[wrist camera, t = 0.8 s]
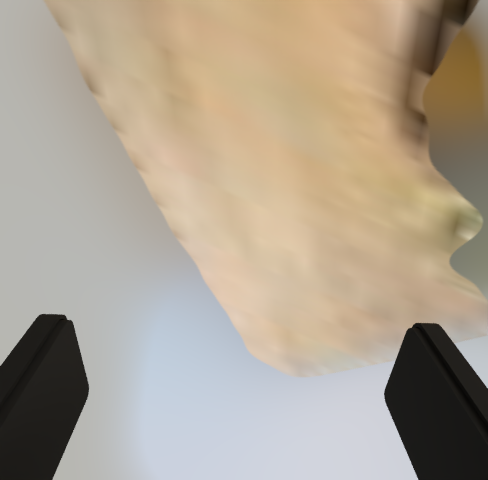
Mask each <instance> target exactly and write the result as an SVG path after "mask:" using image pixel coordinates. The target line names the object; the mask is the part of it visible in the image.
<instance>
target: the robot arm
mask: <svg viewBox="0 0 488 480" xmlns="http://www.w3.org/2000/svg"><path fill="white" fill-rule="evenodd" d="M88 392H89V384H88V381H87V377H86V373H85V369H84V365H83V361H82V357H81V353H80V349H79V345H78V341H77V337H76V333H75V329H74V325H73V322H72V321H71V320H67V318H66V316H65V315H57V314H41V315H39V316H38V317H37V318H36V320H35V321H34V322H33V324H32V325H31V326H30V328H29V329H28V330H27V331H26V333H25V334H24V336H23V337H22V338H21V340H20V341H19V342H18V344H17V345H16V346H15V347H14V349H13V350H12V351H11V353H10V354H9V355H8V357H7V358H6V359H5V361H4V362H3V364H2V365H1V366H0V480H52V479H53V476H54V474H55V472H56V469H57V467H58V465H59V463H60V460H61V458H62V456H63V453H64V451H65V449H66V446H67V444H68V442H69V439H70V437H71V435H72V433H73V430H74V428H75V425H76V423H77V421H78V418H79V416H80V414H81V412H82V409H83V407H84V405H85V402H86V400H87V397H88ZM384 395H385V402H386V404H387V407H388V409H389V411H390V414H391V416H392V419H393V421H394V423H395V426H396V428H397V430H398V433H399V435H400V437H401V440H402V442H403V444H404V447H405V449H406V451H407V454H408V456H409V458H410V461H411V463H412V465H413V468H414V470H415V472H416V475H417V477H418V480H488V388H487V387H486V386H485V384H484V383H483V382H482V380H481V379H480V378H479V376H478V375H477V374H476V372H475V371H474V370H473V368H472V367H471V366H470V364H469V363H468V362H467V360H466V359H465V358H464V356H463V355H462V354H461V353H460V351H459V350H458V349H457V347H456V346H455V344H454V343H453V342H452V340H451V339H450V338H449V336H448V335H447V334H446V332H445V331H444V330H443V328H442V327H441V326H440V325H439V324H436V323H415V324H414V325H413V327H412V328H409V329H408V330H407V331H406V334H405V337H404V340H403V342H402V345H401V348H400V350H399V353H398V356H397V358H396V361H395V364H394V367H393V369H392V372H391V375H390V377H389V380H388V383H387V385H386V388H385V393H384Z"/></svg>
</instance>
